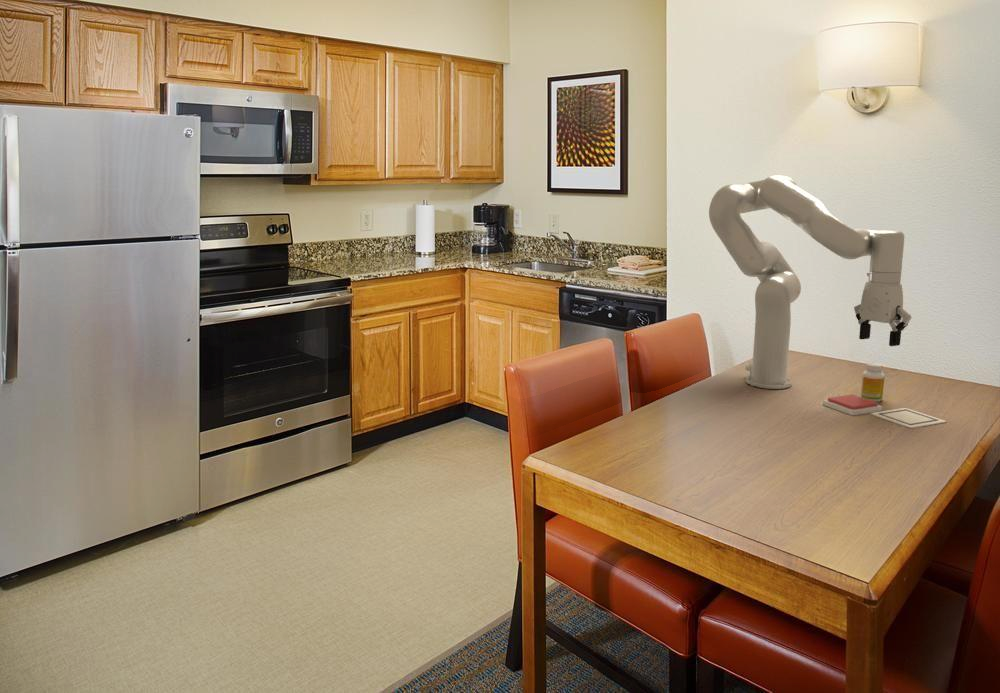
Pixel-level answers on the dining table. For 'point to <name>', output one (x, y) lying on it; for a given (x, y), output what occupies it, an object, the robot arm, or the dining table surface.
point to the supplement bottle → (872, 382)
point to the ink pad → (852, 405)
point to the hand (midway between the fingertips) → (879, 342)
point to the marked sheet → (908, 418)
